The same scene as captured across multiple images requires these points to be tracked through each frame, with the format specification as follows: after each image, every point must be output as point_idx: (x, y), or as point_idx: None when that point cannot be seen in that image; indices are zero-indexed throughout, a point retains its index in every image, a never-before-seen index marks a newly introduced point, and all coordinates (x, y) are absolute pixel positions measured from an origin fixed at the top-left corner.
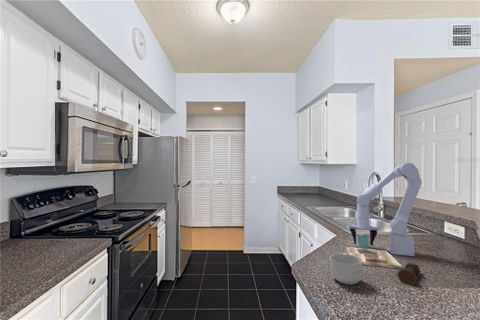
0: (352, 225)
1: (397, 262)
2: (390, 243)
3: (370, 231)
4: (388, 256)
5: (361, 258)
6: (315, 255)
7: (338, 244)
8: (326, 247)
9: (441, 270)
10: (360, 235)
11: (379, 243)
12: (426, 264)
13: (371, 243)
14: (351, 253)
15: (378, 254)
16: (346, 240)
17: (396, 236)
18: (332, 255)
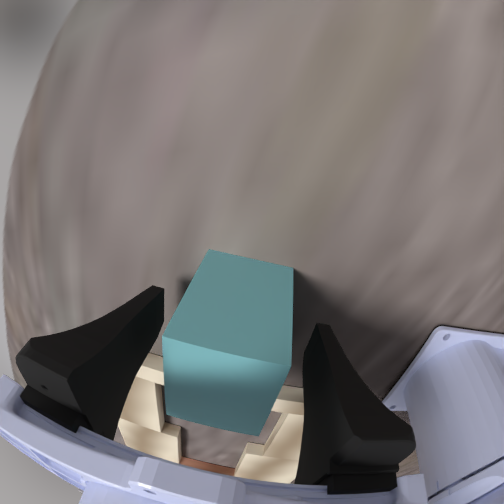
0: (34, 457)
1: (288, 480)
2: (419, 426)
3: (328, 459)
4: (296, 458)
5: (159, 454)
6: (23, 377)
7: (53, 227)
8: (15, 299)
9: (406, 470)
10: (187, 380)
11: (500, 141)
12: (413, 453)
13: (304, 372)
14: (124, 422)
15: (279, 420)
16: (144, 44)
17: (428, 498)
18: (80, 491)
